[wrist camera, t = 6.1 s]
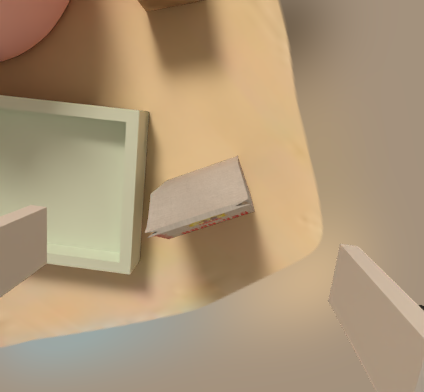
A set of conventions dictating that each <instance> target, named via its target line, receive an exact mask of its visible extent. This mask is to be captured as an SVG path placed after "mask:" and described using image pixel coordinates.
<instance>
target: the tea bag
mask: <svg viewBox="0 0 424 392" xmlns="http://www.w3.org/2000/svg"><path fill="white" fill-rule="evenodd" d="M251 212H254V207H253V203H252V199H251V194H250V191H249V189H248V186H247V183H246V180H245V177H244V174H243V171H242V168H241V165H240V162H239V159H238V156H236V157H233V158H230V159H227V160H224V161H221V162H218V163H215V164H213V165H210V166H207V167H204V168H201V169H198V170H195V171H192V172H190V173H187V174H184V175H181V176H178V177H175V178H172V179H169V180H167V181H166V182H164V183H163V184H162V185H161V186H159V187H158V188H157V189H156V190H155V191H153V192H152V193H151V195H150V205H149V215H148V221H147V227H146V230H145V233H148V232H154V233H153V234H152V235H150V236H149V237H151V236H158V237H162V238H166V239H170V238H173V237H176V236H180V235H183V234H186V233H189V232H192V231H195V230H198V229H201V228H204V227H208V226H211V225H214V224H217V223H220V222H223V221H226V220H229V219H232V218H236V217H239V216H242V215H245V214H248V213H251ZM147 238H148V237H147Z"/></svg>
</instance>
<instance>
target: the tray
mask: <svg viewBox="0 0 424 392" xmlns="http://www.w3.org/2000/svg"><path fill="white" fill-rule="evenodd" d="M148 122H149V112H147V111H140V110H131V109H122V108H113V107H104V106H95V105H86V104H77V103H68V102H59V101H49V100H40V99H31V98H22V97H13V96H4V95H0V217H1V216H3V215H6V214H8V213H11V212H14V211H16V210H19V209H21V208H24V207H27V206H29V205H35V206H43V207H47V264H54V265H62V266H69V267H77V268H84V269H92V270H100V271H107V272H115V273H122V274H131V272H132V271H133V270H134V268H135V267H136V265H137V264H138V262H139V261H140V248H141V233H142V217H143V201H144V185H145V169H146V154H147V138H148Z"/></svg>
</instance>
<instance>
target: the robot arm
mask: <svg viewBox="0 0 424 392" xmlns="http://www.w3.org/2000/svg"><path fill="white" fill-rule="evenodd" d="M46 264H47V207H43V206H35V205H29V206H27V207H24V208H21V209H19V210H16V211H14V212H11V213H8V214H6V215H3V216H1V217H0V297H2V296H3V295H4V294H6V293H7V292H8V291H10V290H11V289H13V288H14V287H15V286H17V285H18V284H19V283H21V282H22V281H24V280H25V279H26V278H28V277H29V276H30V275H32V274H33V273H35V272H36V271H37V270H39V269H40V268H41V267H43V266H44V265H46ZM328 302H329V303H330V305H331V307H332V309H333V311H334V313H335V314H336V317H337V319H338V320H339V322H340V324H341V326H342V328H343V330H344V332H345V334H346V336H347V337H348V339H349V341H350V343H351V345H352V347H353V349H354V351H355V352H356V354H357V356H358V358H359V360H360V362H361V364H362V366H363V368H364V369H365V371H366V373H367V375H368V377H369V379H370V381H371V383H372V385H373V387H374V389H375V390H376V392H424V306H422V305H417V304H416V303H415V302H414V301H413V300H412V299H411V298H410V297H409V296H408V295H407V294H406V293H405V292H404V291H403V290H402V289H401V288H400V287H399V286H398V285H397V284H396V283H395V282H394V281H393V280H392V279H391V278H390V277H389V276H388V275H387V274H386V273H385V272H384V271H383V270H382V269H381V268H380V267H379V266H378V265H377V264H376V263H374V261H373V260H371V259H370V257H369V256H367V255H366V254H365V253H364V252H363V251H362V250H361V249H360V248H359V247H358V246H353V245H345V244H340V247H339V252H338V256H337V261H336V266H335V271H334V276H333V281H332V286H331V290H330V295H329V300H328Z"/></svg>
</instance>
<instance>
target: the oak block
mask: <svg viewBox="0 0 424 392" xmlns="http://www.w3.org/2000/svg"><path fill="white" fill-rule="evenodd" d="M138 1H139V3H140V4H141V5H142V7H143V8H144V9H145V11H146V12H147V11H153V10H158V9H163V8H168V7H173V6H178V5H183V4H188V3H193V2H198V1H203V0H138Z"/></svg>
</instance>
